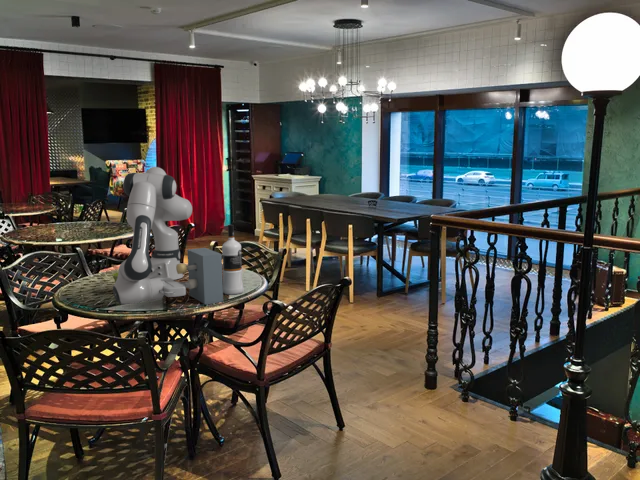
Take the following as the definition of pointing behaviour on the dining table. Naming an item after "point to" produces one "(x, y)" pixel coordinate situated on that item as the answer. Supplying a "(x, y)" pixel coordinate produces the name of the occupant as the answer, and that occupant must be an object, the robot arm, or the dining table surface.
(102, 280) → the dining table surface
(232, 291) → the vodka
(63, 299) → the dining table surface
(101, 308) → the dining table surface
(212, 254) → the console
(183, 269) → the knob upper
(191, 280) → the knob lower
